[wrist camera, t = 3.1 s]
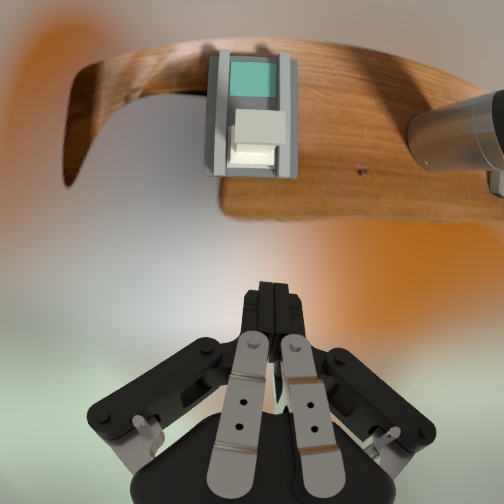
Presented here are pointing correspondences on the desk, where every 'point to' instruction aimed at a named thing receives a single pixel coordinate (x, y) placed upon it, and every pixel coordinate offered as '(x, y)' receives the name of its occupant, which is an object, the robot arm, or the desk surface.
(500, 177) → the infrared thermometer
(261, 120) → the switch tab
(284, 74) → the switch panel
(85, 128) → the desk surface
